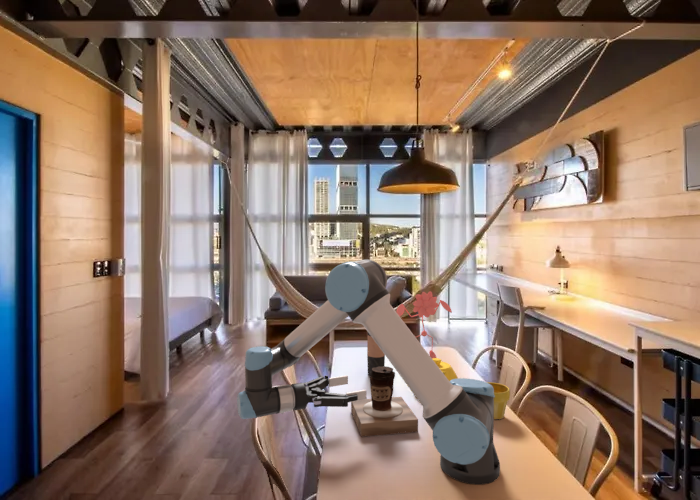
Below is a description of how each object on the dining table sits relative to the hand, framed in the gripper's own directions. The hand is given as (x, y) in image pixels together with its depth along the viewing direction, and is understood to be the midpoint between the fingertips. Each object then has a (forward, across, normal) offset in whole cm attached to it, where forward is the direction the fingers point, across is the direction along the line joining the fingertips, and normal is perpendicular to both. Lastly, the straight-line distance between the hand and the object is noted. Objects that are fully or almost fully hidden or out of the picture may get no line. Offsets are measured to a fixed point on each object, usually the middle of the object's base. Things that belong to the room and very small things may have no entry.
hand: (356, 386), depth 131 cm
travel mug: (+29, -40, -13) cm, 51 cm away
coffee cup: (+10, 0, -9) cm, 13 cm away
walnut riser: (+10, 0, -13) cm, 16 cm away
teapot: (+39, -11, -13) cm, 43 cm away
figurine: (+55, -41, -13) cm, 70 cm away
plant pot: (+46, +12, -13) cm, 49 cm away
